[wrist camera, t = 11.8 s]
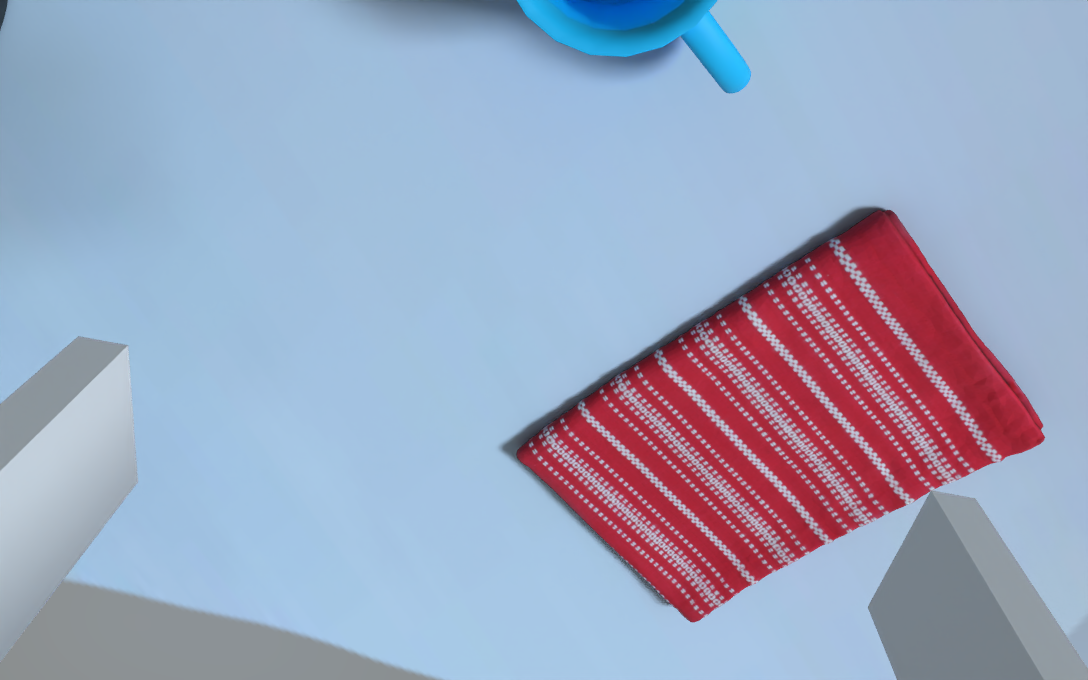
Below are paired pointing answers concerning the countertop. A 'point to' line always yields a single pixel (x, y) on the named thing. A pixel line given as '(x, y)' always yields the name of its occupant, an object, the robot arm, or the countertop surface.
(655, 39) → the mug
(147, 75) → the countertop surface
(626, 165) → the countertop surface
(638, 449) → the dish towel
